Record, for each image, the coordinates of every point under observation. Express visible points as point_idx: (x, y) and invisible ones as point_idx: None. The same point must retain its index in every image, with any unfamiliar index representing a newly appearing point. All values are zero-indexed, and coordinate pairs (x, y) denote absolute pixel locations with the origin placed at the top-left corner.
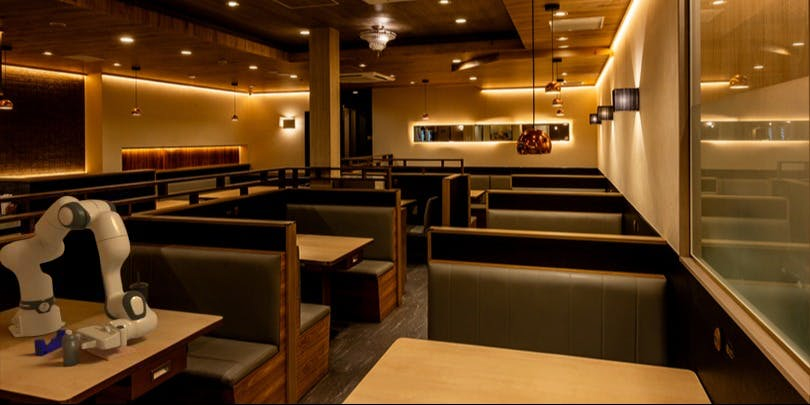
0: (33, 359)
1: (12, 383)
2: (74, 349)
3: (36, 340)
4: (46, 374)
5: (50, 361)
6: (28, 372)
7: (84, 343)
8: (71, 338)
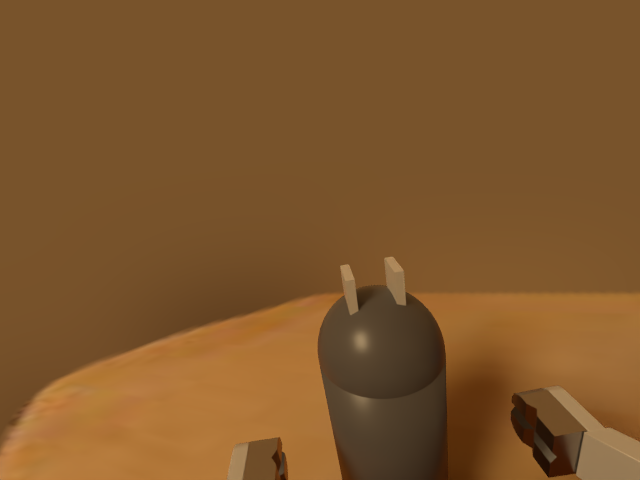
0: (609, 356)
1: None
2: (334, 431)
3: None
4: None
5: None
6: None
7: (237, 464)
8: (320, 334)
